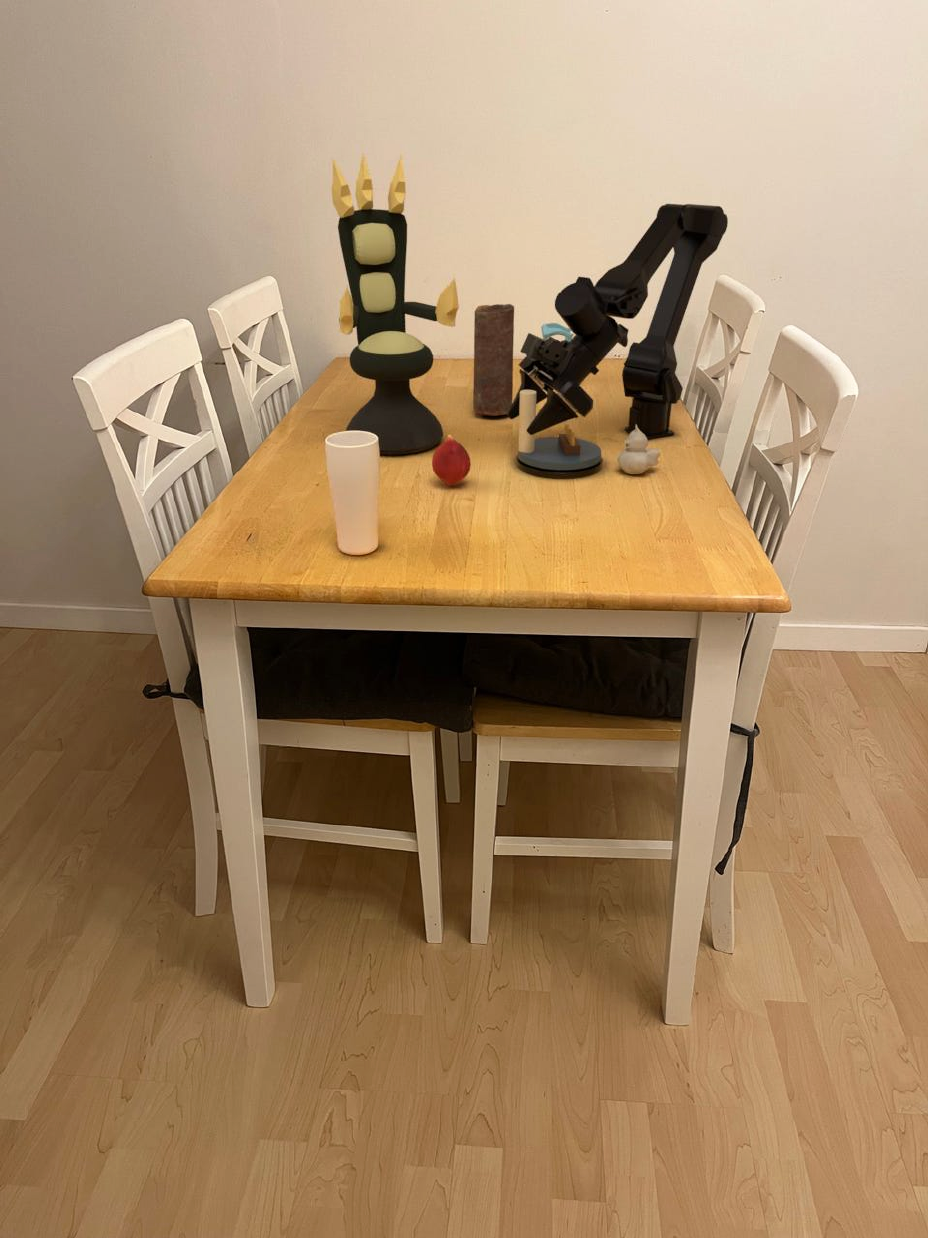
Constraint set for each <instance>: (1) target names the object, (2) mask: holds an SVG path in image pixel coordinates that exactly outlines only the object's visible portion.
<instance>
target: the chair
mask: <svg viewBox="0 0 928 1238" xmlns="http://www.w3.org/2000/svg"><path fill="white" fill-rule="evenodd" d="M571 332H572V331H571V329H570V328H569V327H566V326H564V325H562V324H560V323H557V322H550V323H544V324H542V325H541V334H542V339H544V340H547V339H548V338H549V337H553V336H558V335H559V336H563V337H565V338H564V340H567V341H568V342H570V340H571V339H572V338H573V337H574V336H575V334H574V333H571Z"/></svg>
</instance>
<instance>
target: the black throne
mask: <svg viewBox="0 0 928 1238" xmlns="http://www.w3.org/2000/svg"><path fill="white" fill-rule="evenodd" d="M331 184H332V185H331V188H330V189H331V198H332V205H333V206H334V208H335V210H336V213H337V215H338V217H339V219H338V223H337V231H338V237H339V244H340V249H341V254H342V259H343V262H344V267H345V273H346V277H347V282H348V284H347V285H346V288H345V290H344V292H343V295H342V296H341V298H340V300H339V318H338V322H339V331H340V332H341V333H342V334H343V335H345V336H348V335H349V336H350V335H351V334H352V333H353V332H354V329H356V340H357V345H356V346H355V347H354V348H353V349H352V350H351V352H350V355H349V365H350V368H351V370H352V371H353V372H354V374H355V375H357V376H358V377H361V378H364V379H367V380H372V381H374V382H375V383H374V385H375V389H374V393H373V395H372V397H371V398H370V399H369V400H368V401H367V403H365V404H364V405H363V406H362V407H360V409H358V411H357V412H355V414H354V415H353V416H352V417H351V419H350V421H349V423H348V424H347V426H346V430H345V431H365V432H370V433H373V434H375V435H376V436H377V437H378V441H379V452H380V455H387V456H389V455H406V454H416V453H419V452H423V451H428V450H429V449H431V448H433V447H435V446H436V445H437V444H438V443H439V442H440V441H441V440H442V438H443V437H444V431H443V427H442V424H441V422H440V420H439V419H438V418H437V416H436V415H435V414H434V413H433V412H432V411H431V410H430V409H429V408H428V407H427V406H426V405H425V404H423V403H422V402H421V401H420V400H418V399H417V398H416V397H415V396H414V395H413V393H412V390H411V384H410V383H411V380H413V379H417V378H419V377H420V378H421V377H422V376H424V375H426V374H428V373H429V371H430V370H431V369H432V367H433V364H434V354H433V352H432V350H431V348H430V347H429V346H428V345H426V344H424V342H423V341H421V340H420V339H419V338H417V337H416V336H414V335H412V334H410V333H406V330H407V329H406V315H408V316H412V317H415V318H419V319H423V320H428V321H432V322H438V323H439V324H440V325H443V326H446V327H452V328H453V327H456V317H457V312H458V310H459V308H460V306H459V298H458V290H457V289H458V288H457V283H456V278H453V279H452V280H451V282H450V283H449V285H446V287H445V288H444V289H443V290H442V292H441V293H440V294H439V296H438V300H437V304H436V305H431V304H428V303H424V302H418V301H406V299H405V292H406V291H405V290H406V265H407V264H406V263H407V250H408V249H407V248H408V247H407V246H408V222H407V219H406V216H405V215H404V214H403V213H404V211H405V200H406V192H407V191H406V177H405V171H404V165H403V158H402V154H399V159H398V162H397V165H396V168H395V170H394V174H393V176H392V180H391V181H390V184H389V189H388V194H387V203H388V209H379V208H378V209H377V208H376V209H375V208H374V187H373V180H372V176H371V173H370V169H369V166H368V163H367V160H366V157H365V154H364V152H362V155H361V160H360V164H359V170H358V174H357V178H356V181H355V192H354V195H355V200H356V205H357V209H355V206H354V203H353V197H352V193H351V189H350V186H349V184H348V182H347V180H346V179H345V177H344V174H343V173H342V171H341V169H340V167H339V166H338V164H337V162H336V161H335V159H334V158H332V183H331Z"/></svg>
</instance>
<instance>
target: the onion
mask: <svg viewBox="0 0 928 1238" xmlns="http://www.w3.org/2000/svg"><path fill="white" fill-rule="evenodd" d="M431 466H432V471H433V473H434V474H435V476H436V477H437V478H438V479H439V480H440V481H442V482H443V483H444V484H445V485H446V486H448V487H453V486H455V485H457V484H458V483H460V482H462V480H464V479H465V478H466V477H467V476H468V475H469V472H470V470H471V457H470V455H469V452H468V451H467V449H465V447H464V446H463V444H461V443H460V442H458V441H457V440H456V439H455V438H454V436H452V435H451V434H447V436H446V440H445V441H444V442H443V443H441V444H440V445H439V446H438V447H437V448H436V449H435V451H434V453H433V455H432V459H431Z"/></svg>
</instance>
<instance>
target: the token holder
mask: <svg viewBox="0 0 928 1238" xmlns="http://www.w3.org/2000/svg"><path fill="white" fill-rule="evenodd" d="M536 393H537V392H536V391H534V390H522V391H520V407H519V416H518V448H517V455H518V458H519V459H520V460H521V461H522V462H523V463H525V464H527V465H530V466H533V467H537V468H542V469H549V470H577V469H583V468H587V467H591V466H593V465H595V464H597V463H598V462H599V461H600V460H601V457H602V448H601V447H600V446H599V445H598V444H596V443H595V442H592V441H589V440H586V439H583V438H577V437H576V436H575V432H574V431H573V429H572V428H571V427H570V425H569V424H564V431H563V433H558V436H547V437H546V436H544V437H537V438H536V433H535V434H533V435H530V434H529V433H528V432H527V431H526V430H527V428H528V427H529V425H530V424H531V422H532V421H533V420H534V418H535V417H536V415H537V404H536Z"/></svg>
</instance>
